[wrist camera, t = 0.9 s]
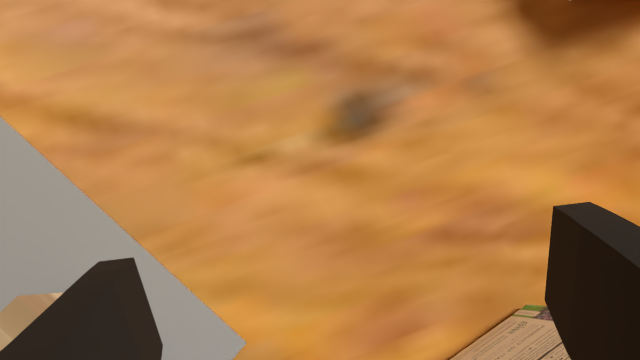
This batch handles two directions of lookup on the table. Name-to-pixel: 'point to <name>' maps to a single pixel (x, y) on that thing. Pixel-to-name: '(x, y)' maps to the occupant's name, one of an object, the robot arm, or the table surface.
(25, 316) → the sleeve
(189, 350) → the board
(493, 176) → the table surface
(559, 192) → the table surface
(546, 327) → the syrup box
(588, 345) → the robot arm
